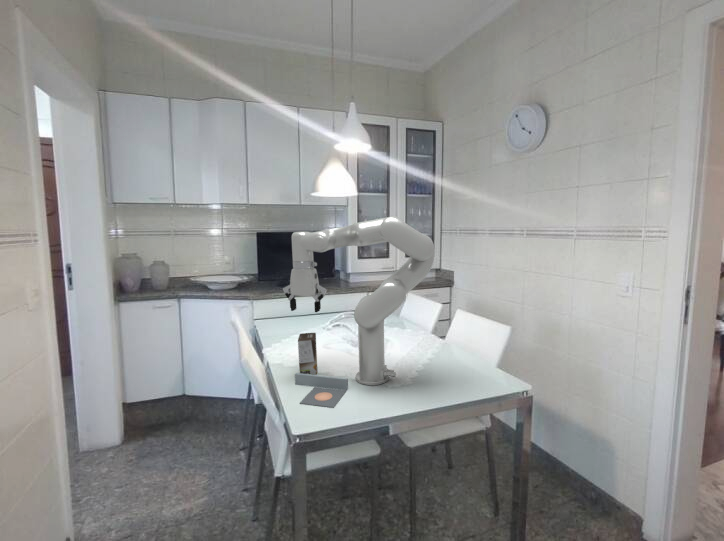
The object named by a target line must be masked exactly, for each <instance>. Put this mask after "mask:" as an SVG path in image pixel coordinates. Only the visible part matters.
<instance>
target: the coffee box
mask: <svg viewBox="0 0 724 541" xmlns="http://www.w3.org/2000/svg"><path fill="white" fill-rule="evenodd" d="M297 343H298V344H297V346H298V347H297V348H298V349H297V350H298V368H299V373H303V374H312V375H318V354H317V352H318V351H317V332H303V333H299V336H298V338H297Z"/></svg>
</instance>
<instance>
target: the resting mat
mask: <svg viewBox="0 0 724 541" xmlns="http://www.w3.org/2000/svg"><path fill="white" fill-rule="evenodd" d="M346 393H347V390H339V389H331V388H322V387H313V388H312V389H311V390H310V391H309V392H308V393H307V395H305V397H303V399H302V400H301V401H300V402H299V404H300V405H305V406H306V405H307V406H313V407H323V408H329V409H335V407H336V406H337V404H338V403H339V402H340V400H341V399H342V398H343V397H344V396H345V394H346Z"/></svg>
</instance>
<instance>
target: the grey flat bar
mask: <svg viewBox="0 0 724 541" xmlns="http://www.w3.org/2000/svg"><path fill="white" fill-rule="evenodd" d="M348 379H349V378H348V377H341V376H340V377H339V376H330V375H321V374H317V375H312V374H303V373H300V372H295V373H294V384H295V386H296V385H297V386H303V387H304V386H306V387H313V388H314V387H318V388H327V389H336V390H345V391H348V389H349V380H348Z"/></svg>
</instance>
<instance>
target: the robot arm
mask: <svg viewBox="0 0 724 541" xmlns="http://www.w3.org/2000/svg"><path fill="white" fill-rule="evenodd" d="M382 243H389V244H390V245H391V246H393V247H394V248H396V249H398V250H399V251H401V252H403V253H404V254H406V255H407V256H408V257H409V258H408V260H407V261H406V262H405V263H404V264H403V265H401V267H400V268H398V269H397V270H396V271H395V272H394V273H392V274H391V275H390V276H388V277H387V278H385V279H384V280H383V281H381V284H380V285H379V286H378V288H376V289H375V290H374V291H373V292H372V293H371V294H367V295H364V296H363V297H362V298H360V300H359V301H358V303H357V304H356V307H355V309H354V312H353V317H354V321H355V323H356V324H357V331H358V333H357V334H358V336H357V338H358V340H357V341H358V365H359V368H358V369H359V370H358V372H357V373H355V375H354V376H355V378H354V379H355V380H356V382H358V383H359V384H360V385H366V386H378V385H382V384H384V383H387V382H388V381H389V380H390V377H391V378H397V372H396V371H395V369H388V365H387V364H386V362H385V360H386V358H385V320H386V319H387V318H388V317H389V316H390V315H392V314H393V313H394V312H395V311H396V310H398V309H399V308H400V307H401V305H403V303H404V302H405V299H406V295H407V294H408V293H409V292H410V291H412V290H413V289H414V288H415V287H416V286H418V285H419V284H420V283H421V282H422V281H423V280H424V279H425V278H426V277H427V275H429V274H430V271H431V270H432V267H433V265H434V260H435V245H434V242H433V239H432V238H431V237H430V236H429V235H427V234H423V233H421V232H420V231H419V230H417V229H415V228H413V227H412V226H410V225H409V224H407V222H405V221H404V220H403V219H402V218H401V217H398V216H393V215H392V216H388V217H387V216H386V217H381V218H376V219H371V220H365V221H360V222H355V223H353V224H349V225H345V226H341V227H335V228H330V229H329V228H328V229H323V230H319V231H318V230H317V231H314V232H313V231H312V232H311V231H294V232H293V233H292V234H291V252H292V254H291V256H292V269H291V272H290V278H289V279H290V280H289V281H290V282H289V284H288V285H286V286H285V287H282V291H283V293H284V294H285V297H286V298H287V299H288V301H289V308H290V311H291V312H293V311H295V310H297V299H296V297H312V298H313V299H314V300H315V301H314V305H313V306H314V313H318V312H320V310H321V305H322V304H321V301H322V299H323V298H324V297H325V295H326V293H327V291H328V290H327V288H325V287H323V286H322V285H320V282H319V276H318V275H319V274H318V271H317V268H315V267H317V266H318V262H316V261H315V260H314V252H315V253H324V252H327V251H330V250H334V249H339V248H344V247H345V248H347V247H352V246H355V247H365V246H371V245H377V244H382ZM319 293H320V294H319Z"/></svg>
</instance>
